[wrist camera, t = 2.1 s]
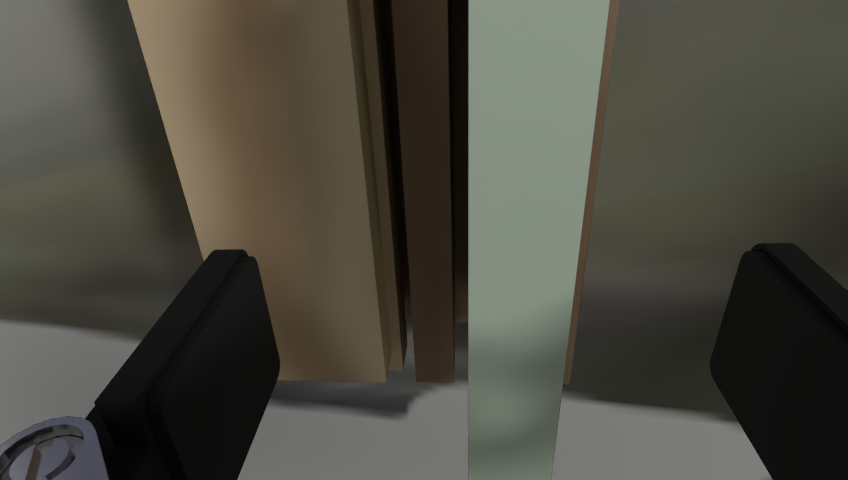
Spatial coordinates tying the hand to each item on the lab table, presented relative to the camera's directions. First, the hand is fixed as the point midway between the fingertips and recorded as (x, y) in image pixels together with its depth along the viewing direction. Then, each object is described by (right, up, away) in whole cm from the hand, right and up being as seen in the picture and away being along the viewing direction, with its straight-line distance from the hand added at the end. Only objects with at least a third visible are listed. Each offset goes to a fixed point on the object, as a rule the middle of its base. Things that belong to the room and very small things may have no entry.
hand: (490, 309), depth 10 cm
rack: (-2, +7, +12) cm, 13 cm away
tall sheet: (+1, +6, +10) cm, 12 cm away
